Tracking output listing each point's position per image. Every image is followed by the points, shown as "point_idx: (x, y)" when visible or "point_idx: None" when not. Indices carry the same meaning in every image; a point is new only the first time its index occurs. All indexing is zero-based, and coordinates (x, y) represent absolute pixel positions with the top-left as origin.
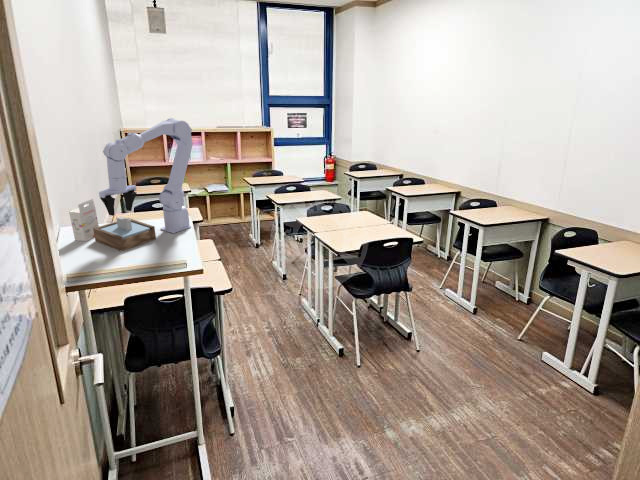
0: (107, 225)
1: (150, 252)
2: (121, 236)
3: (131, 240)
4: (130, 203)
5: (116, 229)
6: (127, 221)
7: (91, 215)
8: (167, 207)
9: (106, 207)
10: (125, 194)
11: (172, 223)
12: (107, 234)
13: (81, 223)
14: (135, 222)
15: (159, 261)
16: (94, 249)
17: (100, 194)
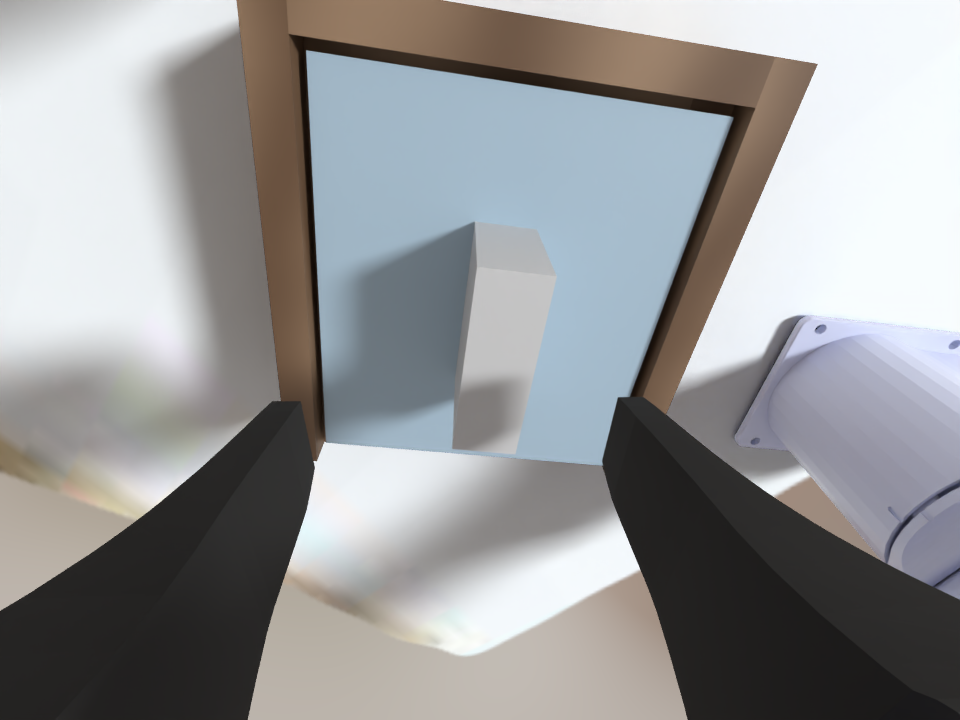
0: (441, 56)
1: (417, 514)
2: (333, 429)
3: None
4: (650, 586)
5: (424, 258)
6: (469, 442)
7: None
8: (945, 563)
9: (180, 500)
10: (801, 713)
11: (806, 469)
12: (273, 299)
13: None
14: (687, 270)
15: (366, 594)
16: (192, 192)
17: None
